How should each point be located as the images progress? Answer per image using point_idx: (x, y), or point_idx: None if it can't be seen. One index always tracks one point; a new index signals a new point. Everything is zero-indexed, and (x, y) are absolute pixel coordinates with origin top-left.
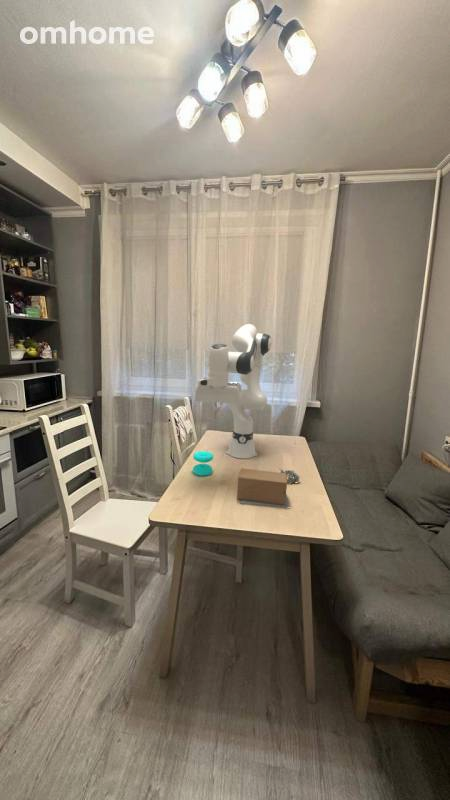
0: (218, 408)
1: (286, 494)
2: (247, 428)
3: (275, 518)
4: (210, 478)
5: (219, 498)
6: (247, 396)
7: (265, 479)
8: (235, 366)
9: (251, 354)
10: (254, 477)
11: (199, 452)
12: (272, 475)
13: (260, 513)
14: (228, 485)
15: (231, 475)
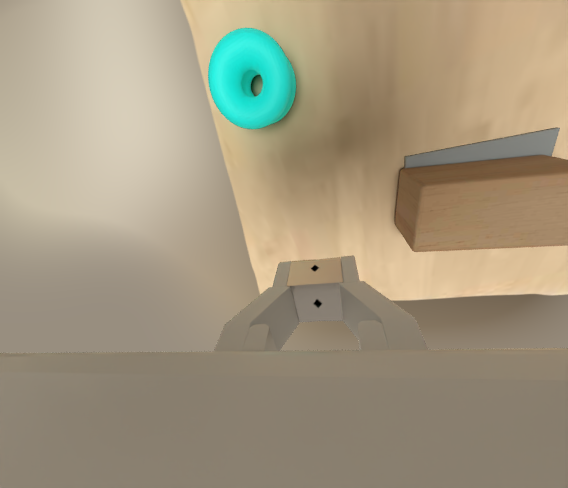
0: (338, 320)
1: (551, 153)
2: None
3: (478, 263)
4: (302, 125)
5: (351, 225)
6: None
7: (502, 245)
8: None
9: None
10: (465, 242)
11: (224, 69)
12: (539, 210)
13: (446, 255)
14: (364, 151)
15: (365, 66)
